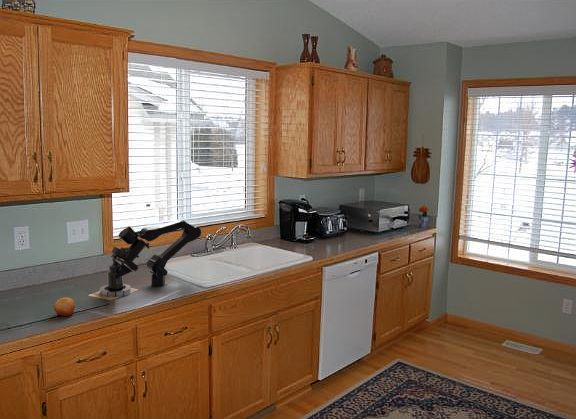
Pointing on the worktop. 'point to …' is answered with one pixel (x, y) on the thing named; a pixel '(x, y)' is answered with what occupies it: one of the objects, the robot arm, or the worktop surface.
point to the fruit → (64, 306)
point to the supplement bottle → (112, 282)
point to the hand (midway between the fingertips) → (112, 276)
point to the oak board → (108, 297)
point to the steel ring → (120, 293)
